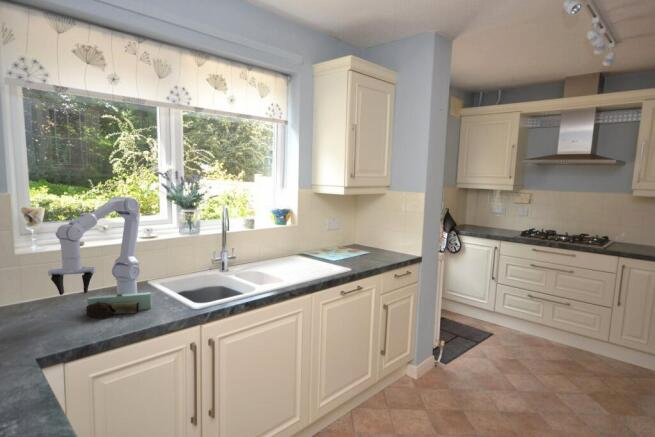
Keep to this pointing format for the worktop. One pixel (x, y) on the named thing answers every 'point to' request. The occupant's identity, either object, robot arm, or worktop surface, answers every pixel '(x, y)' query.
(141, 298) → the block
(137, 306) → the dark brown elongated lump
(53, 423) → the worktop surface
